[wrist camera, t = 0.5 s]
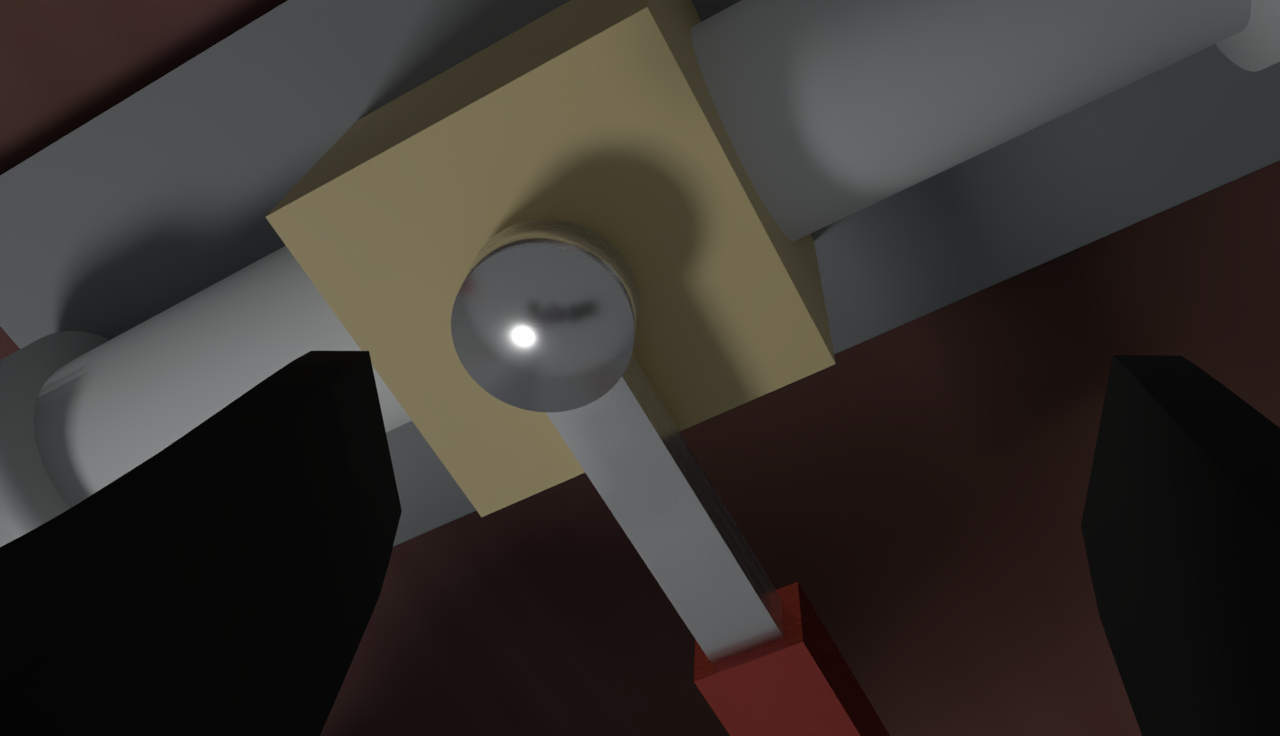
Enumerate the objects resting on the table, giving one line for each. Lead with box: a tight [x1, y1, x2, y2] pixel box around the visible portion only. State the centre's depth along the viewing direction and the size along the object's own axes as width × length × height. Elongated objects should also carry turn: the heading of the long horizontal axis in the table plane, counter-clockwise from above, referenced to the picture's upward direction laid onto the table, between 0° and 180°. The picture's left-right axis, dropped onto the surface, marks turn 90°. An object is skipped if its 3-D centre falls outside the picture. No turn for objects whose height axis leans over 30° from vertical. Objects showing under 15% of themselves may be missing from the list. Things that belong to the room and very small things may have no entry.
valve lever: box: [451, 219, 890, 736], centre depth 18 cm, size 12×2×1 cm, turn 29°
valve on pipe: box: [0, 0, 1280, 547], centre depth 19 cm, size 23×10×6 cm, turn 119°
